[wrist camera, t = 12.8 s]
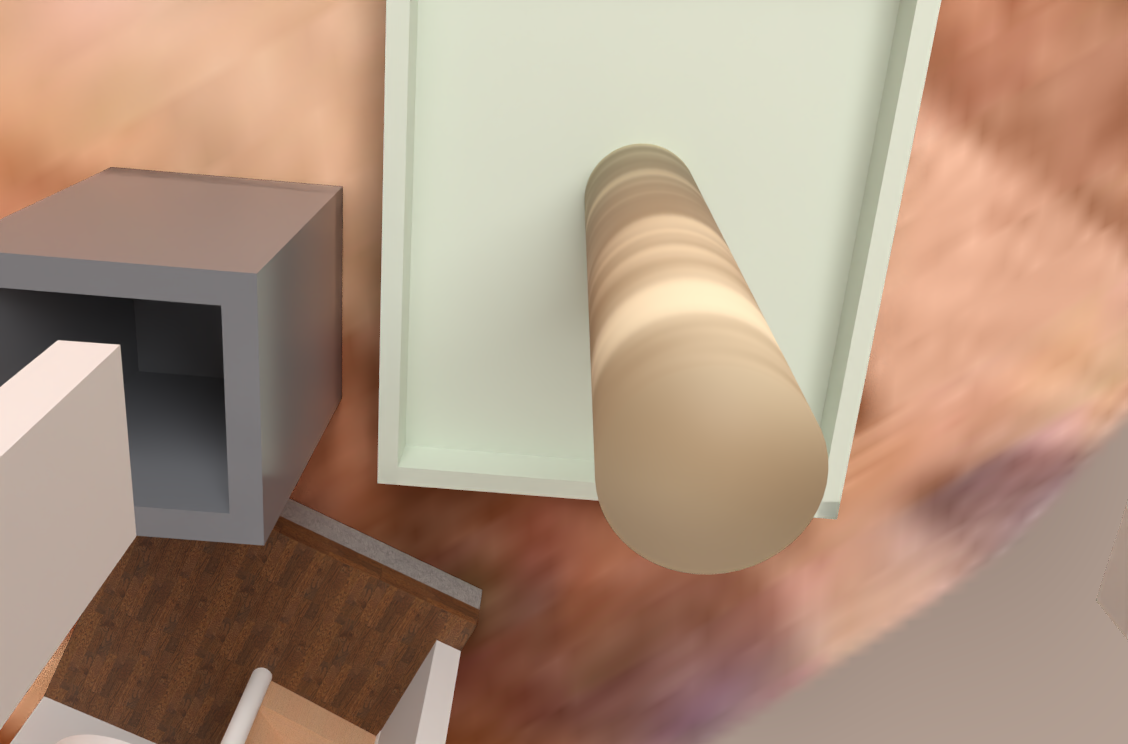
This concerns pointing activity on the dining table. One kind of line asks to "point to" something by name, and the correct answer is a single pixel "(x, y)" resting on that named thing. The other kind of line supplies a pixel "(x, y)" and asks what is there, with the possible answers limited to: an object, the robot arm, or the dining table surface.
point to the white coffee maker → (262, 644)
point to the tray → (557, 210)
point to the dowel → (688, 380)
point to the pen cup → (191, 330)
